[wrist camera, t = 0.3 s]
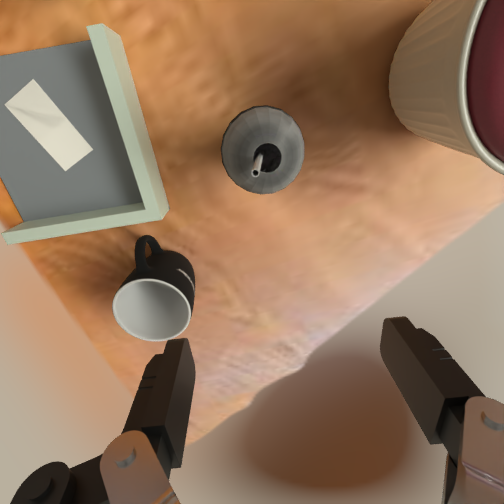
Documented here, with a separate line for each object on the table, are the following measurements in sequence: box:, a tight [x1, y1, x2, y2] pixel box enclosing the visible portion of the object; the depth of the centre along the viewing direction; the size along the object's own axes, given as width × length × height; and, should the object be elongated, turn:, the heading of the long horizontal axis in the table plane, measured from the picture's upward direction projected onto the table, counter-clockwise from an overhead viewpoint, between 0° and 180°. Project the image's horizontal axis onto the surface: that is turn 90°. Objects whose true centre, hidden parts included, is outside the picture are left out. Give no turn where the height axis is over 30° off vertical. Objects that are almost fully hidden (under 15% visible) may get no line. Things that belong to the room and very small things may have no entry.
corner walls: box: [1, 24, 169, 244], centre depth 32 cm, size 19×19×4 cm
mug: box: [112, 235, 195, 341], centre depth 37 cm, size 12×9×10 cm
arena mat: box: [0, 40, 170, 222], centre depth 34 cm, size 19×19×1 cm
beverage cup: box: [221, 105, 304, 194], centre depth 26 cm, size 7×7×20 cm
